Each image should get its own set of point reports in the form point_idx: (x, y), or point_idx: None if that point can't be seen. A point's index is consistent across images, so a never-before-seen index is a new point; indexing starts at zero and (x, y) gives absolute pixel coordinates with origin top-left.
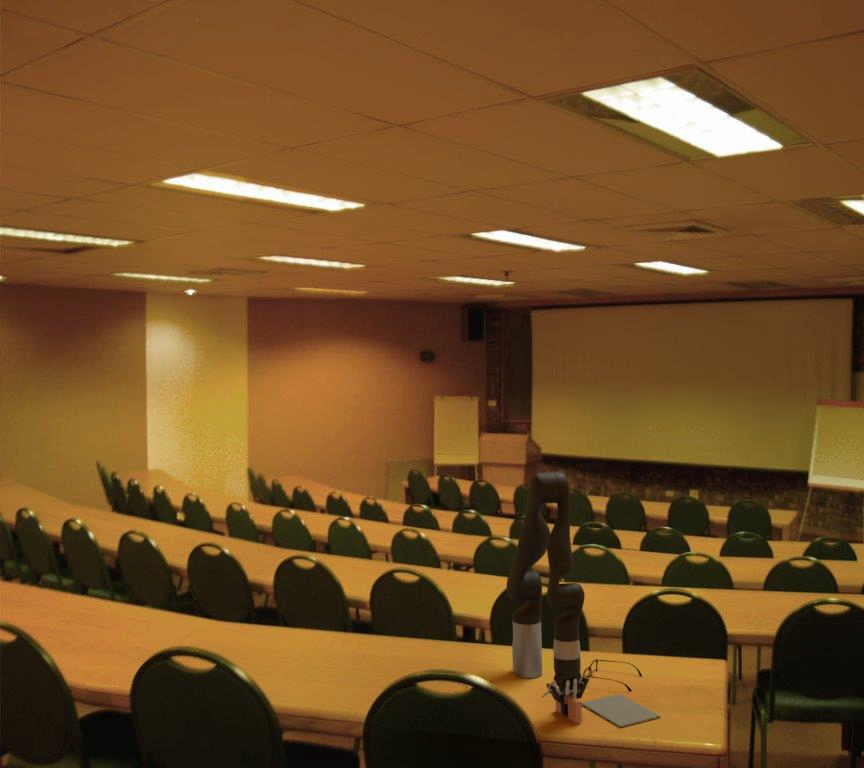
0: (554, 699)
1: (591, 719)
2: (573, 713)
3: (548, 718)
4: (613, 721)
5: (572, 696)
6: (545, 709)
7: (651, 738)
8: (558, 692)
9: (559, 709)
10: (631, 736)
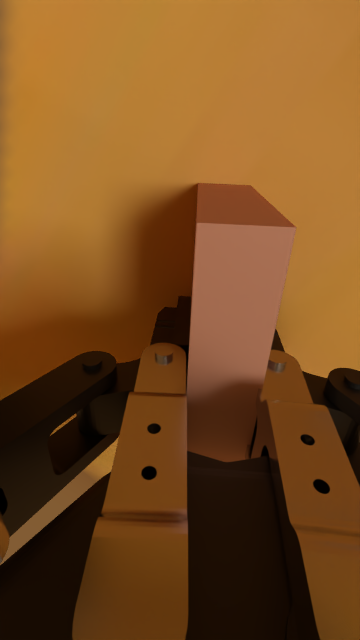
0: (73, 363)
1: None
2: None
3: (76, 264)
4: None
5: (243, 451)
6: (140, 96)
7: None
8: (192, 295)
9: (194, 246)
10: None
